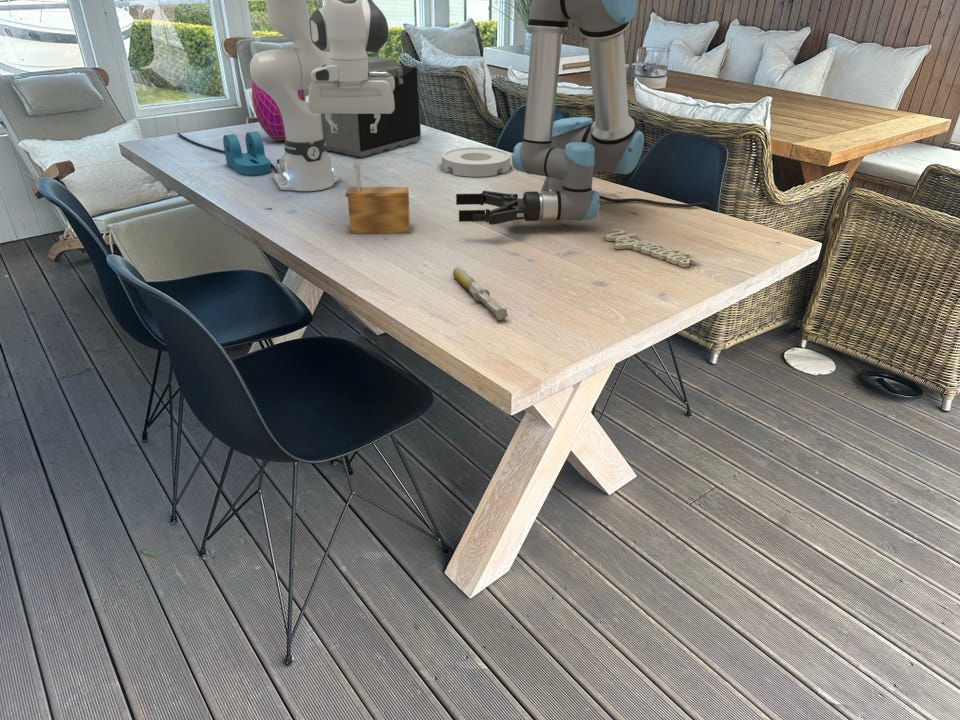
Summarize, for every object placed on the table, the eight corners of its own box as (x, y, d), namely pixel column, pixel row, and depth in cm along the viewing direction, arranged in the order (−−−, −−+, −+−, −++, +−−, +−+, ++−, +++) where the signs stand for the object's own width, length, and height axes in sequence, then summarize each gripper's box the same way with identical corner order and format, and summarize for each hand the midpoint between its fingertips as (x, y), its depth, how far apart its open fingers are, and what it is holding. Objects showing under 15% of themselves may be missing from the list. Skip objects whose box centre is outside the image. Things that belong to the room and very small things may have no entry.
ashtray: (444, 158, 243) (444, 146, 241) (509, 159, 243) (510, 147, 241) (439, 176, 224) (438, 163, 222) (510, 177, 223) (510, 165, 221)
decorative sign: (591, 236, 174) (616, 227, 180) (591, 240, 174) (616, 231, 180) (679, 267, 157) (703, 256, 163) (678, 271, 158) (703, 260, 163)
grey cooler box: (383, 133, 276) (378, 52, 261) (425, 141, 265) (422, 56, 250) (314, 150, 251) (304, 61, 235) (358, 160, 240) (350, 67, 224)
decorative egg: (293, 132, 276) (283, 50, 261) (319, 140, 264) (310, 56, 249) (249, 139, 265) (236, 54, 250) (273, 148, 253) (261, 60, 238)
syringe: (449, 274, 155) (449, 263, 153) (465, 272, 156) (464, 260, 154) (490, 323, 135) (491, 310, 133) (508, 319, 136) (508, 307, 134)
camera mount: (227, 164, 233) (221, 132, 227) (257, 160, 238) (252, 129, 233) (244, 176, 220) (239, 143, 215) (276, 172, 225) (271, 139, 220)
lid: (345, 196, 173) (342, 164, 168) (348, 190, 177) (345, 158, 173) (407, 196, 173) (406, 164, 169) (408, 190, 178) (407, 158, 174)
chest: (350, 233, 177) (347, 197, 173) (353, 226, 182) (350, 190, 177) (409, 232, 178) (407, 196, 173) (410, 225, 183) (408, 190, 178)
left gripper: (395, 69, 163) (397, 129, 171) (308, 69, 163) (314, 129, 170) (393, 73, 158) (396, 135, 165) (303, 73, 157) (310, 135, 164)
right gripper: (532, 178, 187) (455, 179, 186) (547, 207, 166) (460, 208, 164) (531, 205, 191) (455, 206, 190) (545, 236, 170) (460, 238, 168)
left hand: (354, 132), depth 167 cm, fingers open, 8 cm apart
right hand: (457, 207), depth 177 cm, fingers open, 13 cm apart
